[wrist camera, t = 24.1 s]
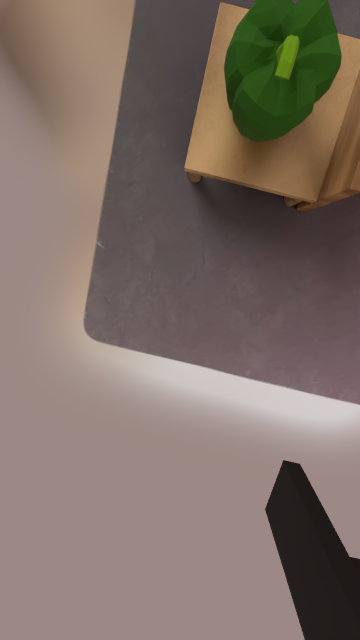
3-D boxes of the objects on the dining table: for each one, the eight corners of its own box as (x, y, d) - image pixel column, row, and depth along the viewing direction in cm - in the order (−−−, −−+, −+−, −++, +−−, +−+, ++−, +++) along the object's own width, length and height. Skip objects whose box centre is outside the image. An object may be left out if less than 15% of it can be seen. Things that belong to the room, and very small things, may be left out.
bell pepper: (254, 33, 26) (294, -98, 16) (321, 94, 27) (396, 5, 17) (198, 117, 28) (204, 43, 18) (263, 172, 29) (301, 130, 19)
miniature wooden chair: (184, 182, 35) (183, 146, 23) (214, 48, 32) (230, -73, 20) (304, 212, 35) (363, 191, 23) (346, 82, 32) (437, -15, 20)
